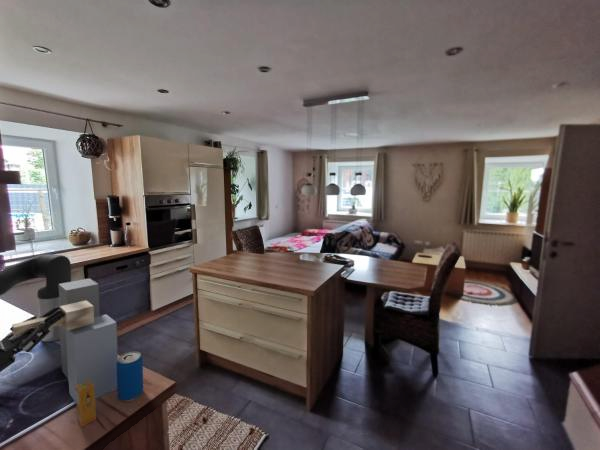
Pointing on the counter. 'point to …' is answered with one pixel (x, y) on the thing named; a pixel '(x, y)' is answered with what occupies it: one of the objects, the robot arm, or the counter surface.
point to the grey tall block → (93, 356)
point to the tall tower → (74, 294)
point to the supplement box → (85, 403)
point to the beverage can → (129, 376)
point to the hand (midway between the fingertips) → (61, 310)
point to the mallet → (73, 318)
